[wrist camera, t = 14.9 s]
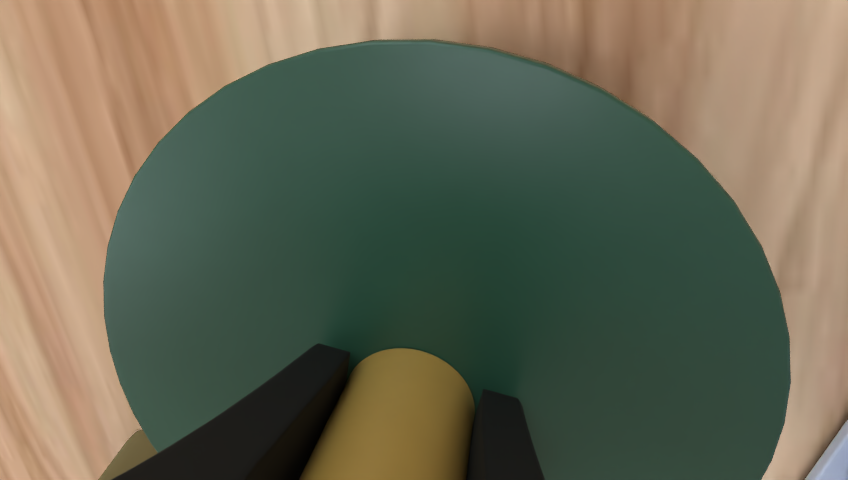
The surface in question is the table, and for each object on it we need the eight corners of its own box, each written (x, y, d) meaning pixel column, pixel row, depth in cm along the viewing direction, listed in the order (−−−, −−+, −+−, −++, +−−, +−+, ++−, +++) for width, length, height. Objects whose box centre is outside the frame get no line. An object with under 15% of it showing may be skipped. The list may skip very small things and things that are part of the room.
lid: (919, 133, 7) (1486, 292, 3) (621, 630, 12) (671, 947, 8) (121, -33, 8) (-299, -90, 4) (153, 488, 13) (-17, 702, 9)
